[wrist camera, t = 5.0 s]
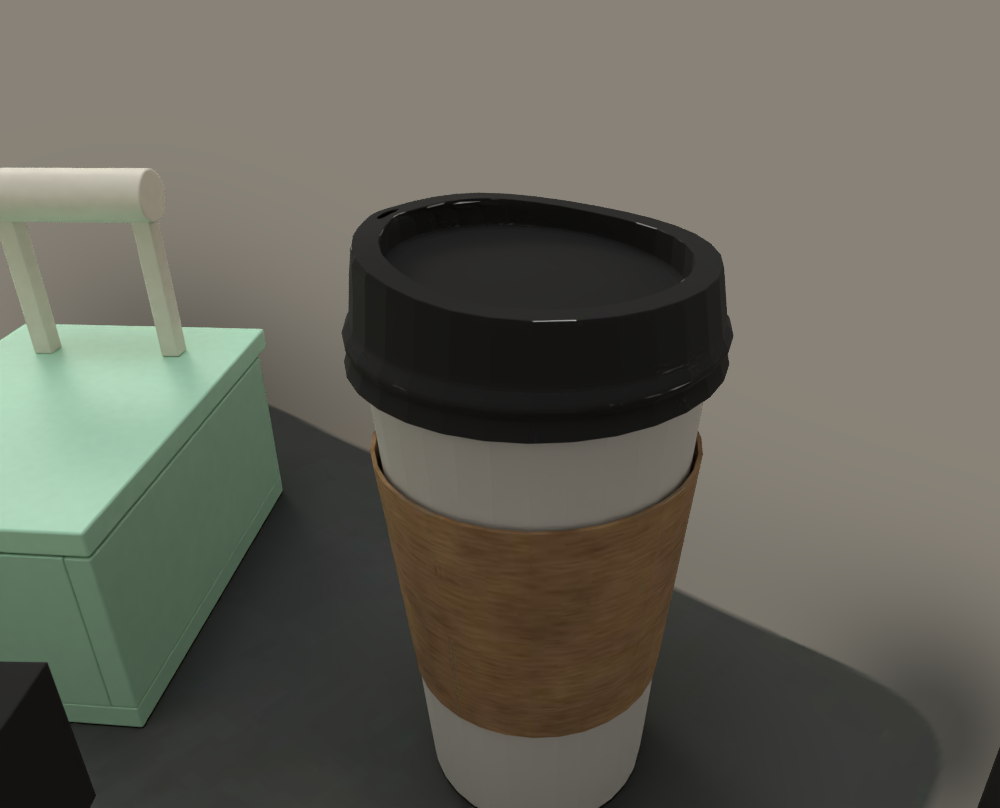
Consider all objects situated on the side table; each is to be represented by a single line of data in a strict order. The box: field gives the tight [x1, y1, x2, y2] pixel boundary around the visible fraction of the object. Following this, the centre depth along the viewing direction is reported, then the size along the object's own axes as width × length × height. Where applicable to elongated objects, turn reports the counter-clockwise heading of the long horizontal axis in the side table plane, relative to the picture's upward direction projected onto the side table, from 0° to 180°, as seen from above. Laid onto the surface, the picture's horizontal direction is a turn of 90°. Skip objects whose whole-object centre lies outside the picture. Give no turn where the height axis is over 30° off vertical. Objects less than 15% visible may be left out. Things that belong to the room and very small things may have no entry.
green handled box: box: [0, 168, 266, 557], centre depth 27 cm, size 13×10×8 cm
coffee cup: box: [342, 193, 733, 808], centre depth 21 cm, size 8×8×15 cm
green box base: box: [0, 357, 283, 727], centre depth 30 cm, size 13×10×6 cm
